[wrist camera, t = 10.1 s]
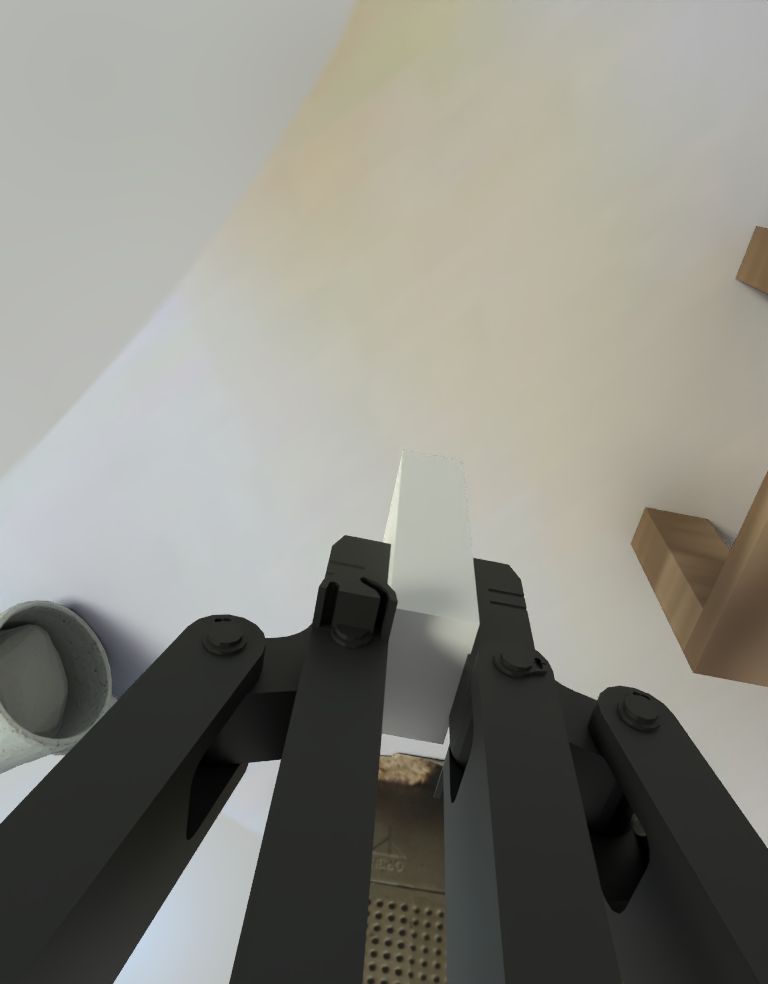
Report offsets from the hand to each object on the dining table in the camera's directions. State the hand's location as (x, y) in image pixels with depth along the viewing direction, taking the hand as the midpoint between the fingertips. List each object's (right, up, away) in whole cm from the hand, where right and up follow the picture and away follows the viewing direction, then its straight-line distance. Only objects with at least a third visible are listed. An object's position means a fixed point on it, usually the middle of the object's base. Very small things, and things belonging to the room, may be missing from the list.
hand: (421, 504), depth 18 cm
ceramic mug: (-19, -9, +22) cm, 30 cm away
